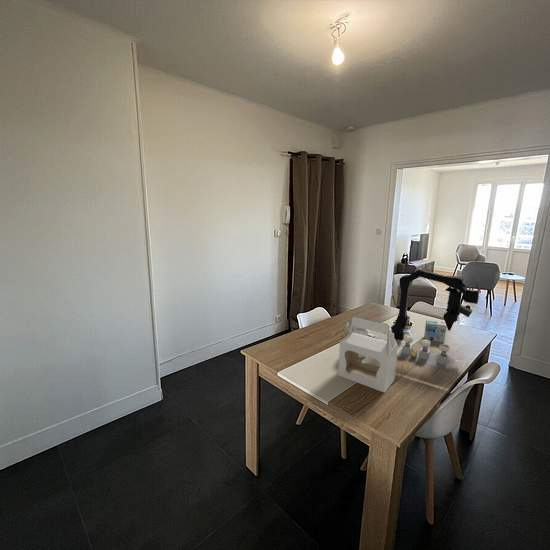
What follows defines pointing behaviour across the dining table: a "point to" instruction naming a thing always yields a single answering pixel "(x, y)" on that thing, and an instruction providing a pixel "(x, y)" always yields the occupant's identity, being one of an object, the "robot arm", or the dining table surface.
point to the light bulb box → (435, 331)
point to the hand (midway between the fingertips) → (450, 327)
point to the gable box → (368, 355)
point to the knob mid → (425, 344)
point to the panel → (426, 357)
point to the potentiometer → (413, 354)
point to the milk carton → (362, 332)
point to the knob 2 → (444, 349)
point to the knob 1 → (408, 340)
